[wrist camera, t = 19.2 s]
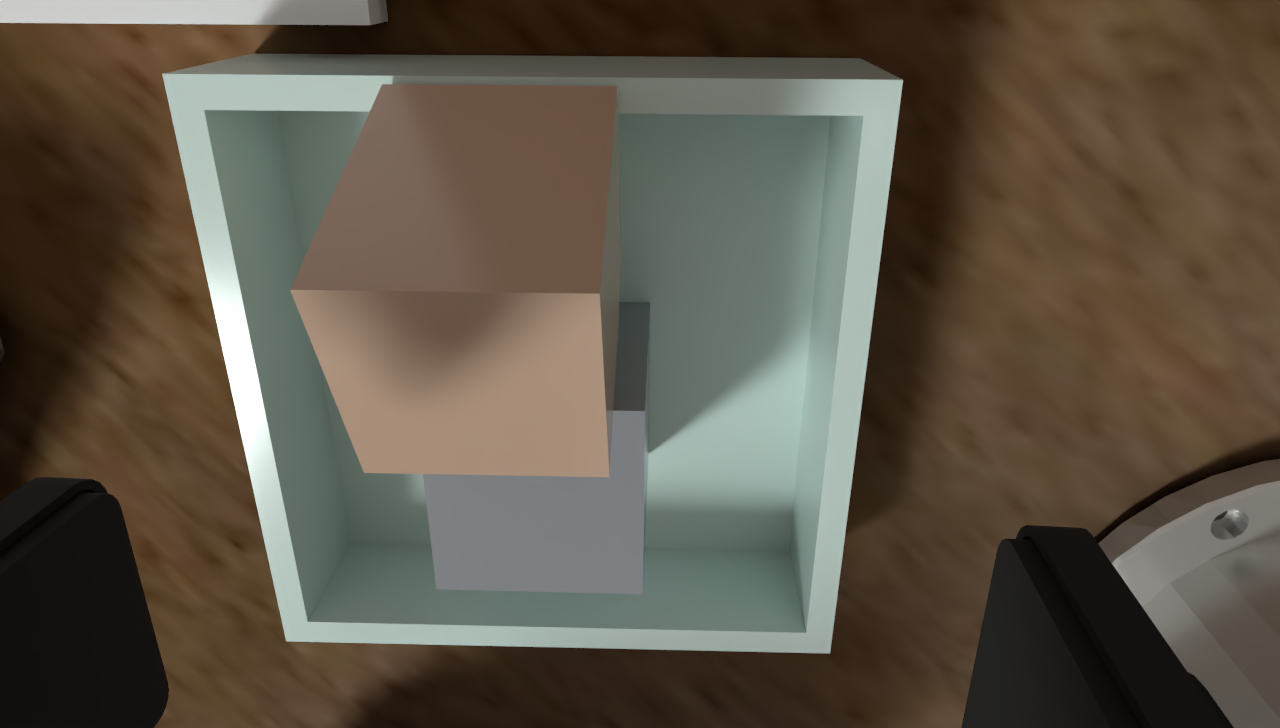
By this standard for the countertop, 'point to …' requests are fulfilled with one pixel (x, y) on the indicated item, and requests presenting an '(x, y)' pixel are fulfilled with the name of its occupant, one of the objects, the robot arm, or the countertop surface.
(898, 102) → the seafoam storage bin
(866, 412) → the countertop surface
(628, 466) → the matte grey cube
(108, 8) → the tray
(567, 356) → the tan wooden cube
